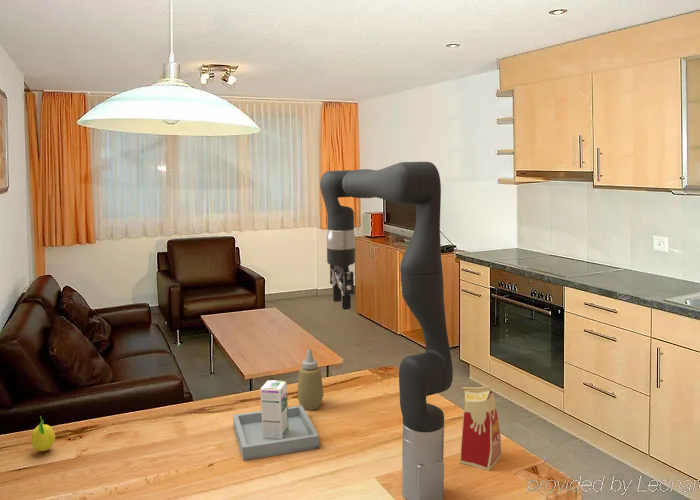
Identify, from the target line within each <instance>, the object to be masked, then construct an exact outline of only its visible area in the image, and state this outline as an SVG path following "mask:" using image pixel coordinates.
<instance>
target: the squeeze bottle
mask: <svg viewBox="0 0 700 500" xmlns="http://www.w3.org/2000/svg"><path fill="white" fill-rule="evenodd" d="M312 351H313V350H312V349H307V351H306V356H305V359H304V360H302V361H301V367H300V369H299V370H298V379H297V391H296V393H297V394H296V396H297V400H298V402H299V406H301V405H302V406H303V408H304V410H305V411H306V410H307V411H315V410H317V409H319V408H320V407H321V405H322V401H323V398H324V389H323V381H322V380H323V379H322V371H321V368H320V367H318V361H317V360H316V359H314V354H313V352H312Z"/></svg>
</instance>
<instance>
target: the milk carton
mask: <svg viewBox="0 0 700 500" xmlns="http://www.w3.org/2000/svg"><path fill="white" fill-rule="evenodd" d="M461 389H463V390H464V408H463V417H462V429H461V441H460V442H461V444H460V459H459V461H460V462H459V463H460V464H464V465H468V466H473V467H475V468H479V469H481V470H484V471H487V472H489V471H490V470H491V469H492V468H493V467H494V466H495V464H496V463H497V462H498V461H499V460H500V458H501V457H502V455H503V453H502V436H501V435H502V434H501V428H500V422H499V414H498V409H497V403H496V399H495V396H494V392H493V391H491V390H492V385H488V386H480V387H468V386H467V387H465V386H463V387H461Z"/></svg>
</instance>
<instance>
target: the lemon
mask: <svg viewBox="0 0 700 500" xmlns="http://www.w3.org/2000/svg"><path fill="white" fill-rule="evenodd" d="M39 417H40V418H39V419H40V423H39V424H38V425H37V426H36V427H35V428H34V430H33V431H32V433H31V438H30V439H31V440H30V441H31V444H32V445H31V446H32V447H33V449H34V450H36V452H37V451H39V452H43V451H46V450H49V449H51V448H52V447H53V445H54V444H55V441H56V433H55V430H54V429H53V428H52V427H51V426H50V425H49V424H44V423H45V422H44V420H43V419H42V416H41V415H40V416H39ZM46 452H47V451H46Z"/></svg>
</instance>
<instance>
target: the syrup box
mask: <svg viewBox="0 0 700 500" xmlns="http://www.w3.org/2000/svg"><path fill="white" fill-rule="evenodd" d="M287 387H288V384H287V381H284V380H277V379H276V380H274V379H273V380H267V381H266V382H265V383H264V384H263V385H262V386H261V387H260V391H259V392H260V409H261V410H260V411H261V412H262V431H263V438H268V439H283V437H284V436H285V435H286V433H287V432H288V430H289V426H288V407H289V406H288V390H287V389H288V388H287Z"/></svg>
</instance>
